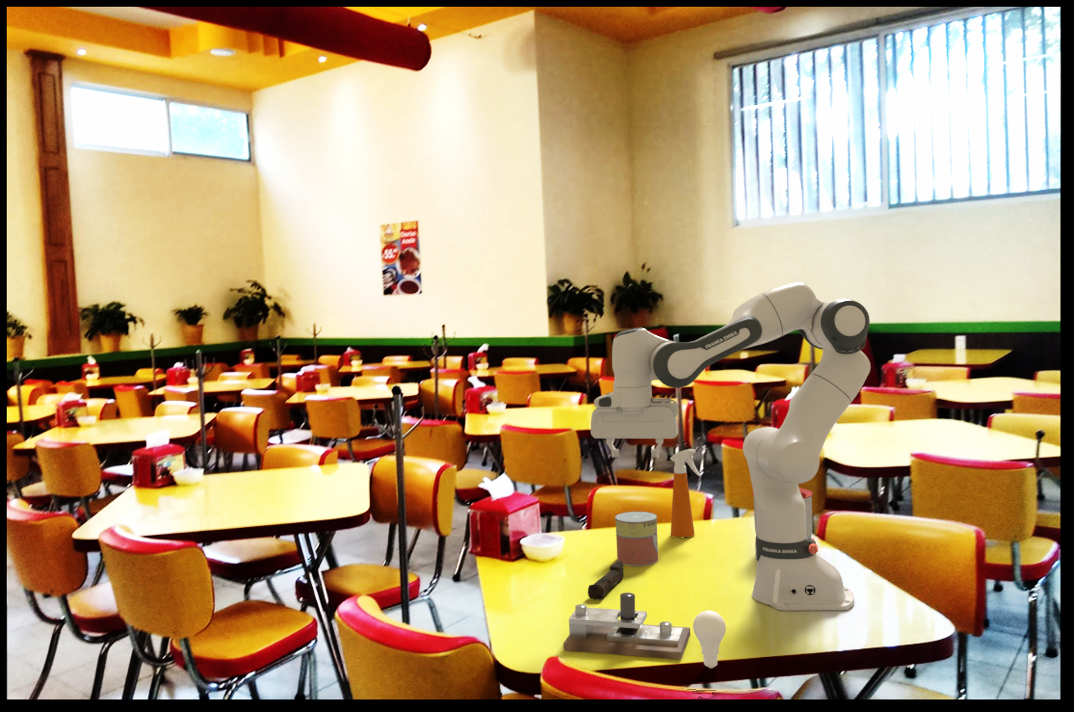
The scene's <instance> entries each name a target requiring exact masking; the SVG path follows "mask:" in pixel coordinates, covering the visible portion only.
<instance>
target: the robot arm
mask: <svg viewBox="0 0 1074 712" xmlns="http://www.w3.org/2000/svg"><path fill="white" fill-rule="evenodd" d="M870 321H871V320H870V315H869V312H868V310H867V308H866V307H865V306H864V305H863V304H861V303H860V302H858V301H856V300H854V299H848V298H840V299H836V300H835V299H834V300H830V301H826V302H822V301H821V300H819V299H818V298H817V296H816V294H815V292H814V291H813V289H812V288H811V287H810V286H809V285H808V284H805V283H803V282H799V281H798V282H792V283H786V284H784V285H783V284H782V285H780V286H778V287H777V286H776V287H774V288H772V289H769V290H766V291H764V292H762V293H759V294H757V295H755V296H753V297H751V298H749V299H747V300H746V301H745V302H743V303H742V304H740V305H739V306H737V307H736V308H735V309H734V311H733V313H732V317H731V319H730V320H729V321H728V323H726V325H724V326H722V327H721V328H718V329H717V330H714V331H712V332H710V333H708V334H706V335H704V336H701V337H699V338H698V339H696V340H693V341H689V342H687V341H686V342H684V341H683V342H682V341H681V342H680V341H677V342H676V341H673V340H670V339H666V338H664V337H661V336H658V335H656V334H654V333H652V332H651V331H648V330H647V329H646V328H643V327H635V328H631V329H626V330H622V331H619V332H618V333H617V334H616V335H615V337H614V338H613V341H612V351H611V353H612V354H611V356H612V357H611V361H612V362H611V363H612V366H611V368H612V372H613V374H614V379H613V380H614V381H613V386H612V388H613V391H612V392H608V393H605V394H602V395H600V396H597V398H595V399H594V400H593V403H594V407H595V409H594V410H593V411H592V413H591V416H590V417H591V419H590V420H591V421H590V434H591V436H592V437H593V438H594V439H605V443H606V445H607V446H608V448H609V449H610V451H611V458H619V457H620V453H619V452H620V449H619V448H616V447H615V445H614V441H615V439H638V440H639V439H647V440H648V439H655V444H657V445H656V447H655V449H654V448H653V449H652V450H651V451H650V452H651V459H658V458H659V457H660V450H661V447H662V445H663V444H664V439H670V440H671V439H673V440H674V439H675V438H677V436H678V434H679V423H678V418H677V416H678V414H679V404H678V403H677V401H675V400H674V399H672V398H670V397H663V398H661V397H653V395H652V394H653V393H652V392H653V390H652V382H653V381H659V382H661V383H662V384H663V385H664V386H667V387H669V388H673V389H680V388H684V387H687V386H688V385H690V384H692V383H693V382H694V381H695V380H697V378H698V377H699V376H700V375H701V374H702V372H703V371H704V370H706V369H707V368H708V367H709V366H712V365H713V364H715V363H717V362H719V361H721V360H723V359H726V358H728V357H729V356H731V355H733V354H735V353H737V352H739V351H742V350H745V349H748V348H752V347H756V346H759V345H763V344H766V343H769V342H772V341H774V340H777V339H779V338H781V337H784V336H785V335H787V334H790V333H792V332H795V331H797V332H798V333H800V335H801V336H802V337H803V339H804V340H805V341H806V342H807V343H808V344H809V345H810V346H812V347H813V348H816V349H817V350H822V355H821V358H820V360H819V363H818V364H817V366H816V367H815V368H814V369H813V370H812V372H811V373H810V374H809V375H808V376H807V378H806V379H805V381H804V382H803V383H802V384H801V386H800V387H799V388H798V389H797V391H796V392H795V393H794V395H792V397H791V399H790V400H789V404H788V405H789V406H788V407H789V408H788V411H787V414H786V416H785V418H784V420H783V423H782V424H781V426H780V427H779V428H776V427H772V426H766V427H765V426H764V427H760V428H756V429H753V430H752V431H750V432H748V434H747V435H746V436H745V438H744V441H743V445H742V452H743V456H744V458H745V459H746V462H747V466H748V470H749V471H748V472H749V475H750V476H749V477H750V481H751V486H752V492H753V491H754V495H755V501H756V514H757V535H756V534H755V540H754V551H755V552H754V553H755V560H756V571H755V572H756V575H755V579H754V580H755V581H754V585H753V590H752V592H751V596H752V598H753V600H756V601H757V602H760V603H761V604H765V605H768V606H771V607H773V608H774V609H776V610H778V611H847V610H849V609H852V607H853V606H854V604H855V598H854V594H853V592H852V590H851V589H849V588H848V587H846V586H844V582H843V578H842V575H841V573H840V571H839V570H838V569H837V567H836V566H834V565H833V564H831V563H830V562H828V561H827V560H826V559H824V558H823V557H822V556H820V555H819V554H818V552H819V546H818V545H817V542H816V540H815V538H814V537H811V538H809V537H808V536H807V534H806V505H805V502H804V499H803V497H802V495H801V492H800V489H799V488H800V487H799V484H804V483H807V482H809V481H811V480H812V479H813V478H814V477H815V476H816V474H818V473H817V472H818V470H819V468H820V455H821V452H822V449H823V447H824V444H825V442H826V440H827V438H828V436H829V434H830V432H831V431H832V429H833V427H834V426H835V424H836V423H838V420H839V419H840V418H841V416H842V415H843V414H844V413H845V411H846V410H847V409H848V407H849V406H850V404H851V403H852V402H853V401H854V399H855V398H856V397H857V395H858V394H859V392H860V391H861V389H862V387H863V385H864V384H865V381H866V380H867V379H868V378H867V377H868V376H869V374H870V372H871V362H870V359H869V358H868V356H867V355H866V354H865V353H864V352H863V351H862V350H863V349H864V348H865V347H866V343H867V336H868V333H869V329H870ZM754 495H753V496H754Z"/></svg>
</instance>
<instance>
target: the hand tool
mask: <svg viewBox="0 0 1074 712" xmlns="http://www.w3.org/2000/svg"><path fill="white" fill-rule="evenodd" d="M624 573H625V572H624V565H623V563H622V561H615V562H614V563H612V564H611V565H609V571H608V572H607V573H605V574H604V575H603V576H602V577H600V578H599V579H598V580H597V581H596V582H594V583H593V584H589V586H588V588H587V596H588V597H589V599H590V600H598V601H601V600H603V599H604V598H605V595H606V594H607V593H608V592H609V591H610V590H611V589H613V587H614V586H615V585H616V584H620V583H621V582H622V581H623V578H624Z"/></svg>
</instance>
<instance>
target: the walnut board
mask: <svg viewBox="0 0 1074 712" xmlns="http://www.w3.org/2000/svg"><path fill="white" fill-rule="evenodd" d="M643 625H648V626H660V624H659V625H658V624H657V625H656V624H645V623H643ZM672 627H675V625H672ZM676 627H677V628H683V635H682V637H681V640H680V643H679V645H678V646H672V645H659V644H646V643H633V642H620V641H607V635H608V633H609V632H610V630H611V628H612V627H611V626H597V625H594V627H593V629H592V631H591V632H590V634H589V635H588V637H587V638H586V639H581V638H570V633H569V634H568V636H567V637H566V639H565V640H564V642H563V651H566V652H567V651H569V652H580V653H581V652H582V653H583V652H584V653H595V654H604V655H605V654H606V655H618V656H629V657H642V658H655V659H665V658H666V659H667V660H668V659H669V660H678V661H682V659H683V656H684V653H685V650H686V648H687V645H688V642H689V639H690V637H691V627H689V626H688V627H687V626H676ZM636 633H637V632H635V635H636ZM618 634H621V631H619V633H618Z"/></svg>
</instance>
